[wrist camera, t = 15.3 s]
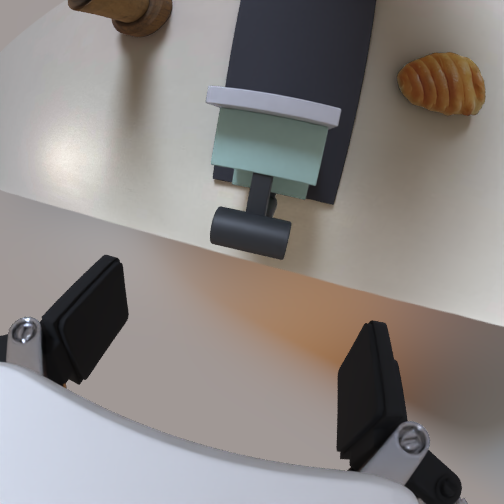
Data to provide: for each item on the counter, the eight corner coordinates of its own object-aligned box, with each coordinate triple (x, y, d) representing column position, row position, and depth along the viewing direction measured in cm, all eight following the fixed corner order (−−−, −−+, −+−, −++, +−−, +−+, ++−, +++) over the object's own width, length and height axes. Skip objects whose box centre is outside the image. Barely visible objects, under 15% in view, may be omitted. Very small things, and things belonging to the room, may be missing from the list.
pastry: (402, 117, 25) (414, 120, 21) (387, 54, 22) (398, 48, 19) (476, 114, 22) (493, 117, 19) (464, 54, 19) (481, 51, 16)
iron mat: (248, -29, 20) (247, -31, 19) (375, -7, 19) (377, -9, 18) (214, 177, 32) (212, 178, 31) (332, 203, 31) (333, 205, 30)
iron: (208, 85, 14) (184, 249, 18) (341, 108, 13) (301, 276, 17) (251, 109, 27) (234, 200, 30) (322, 123, 26) (302, 215, 30)
